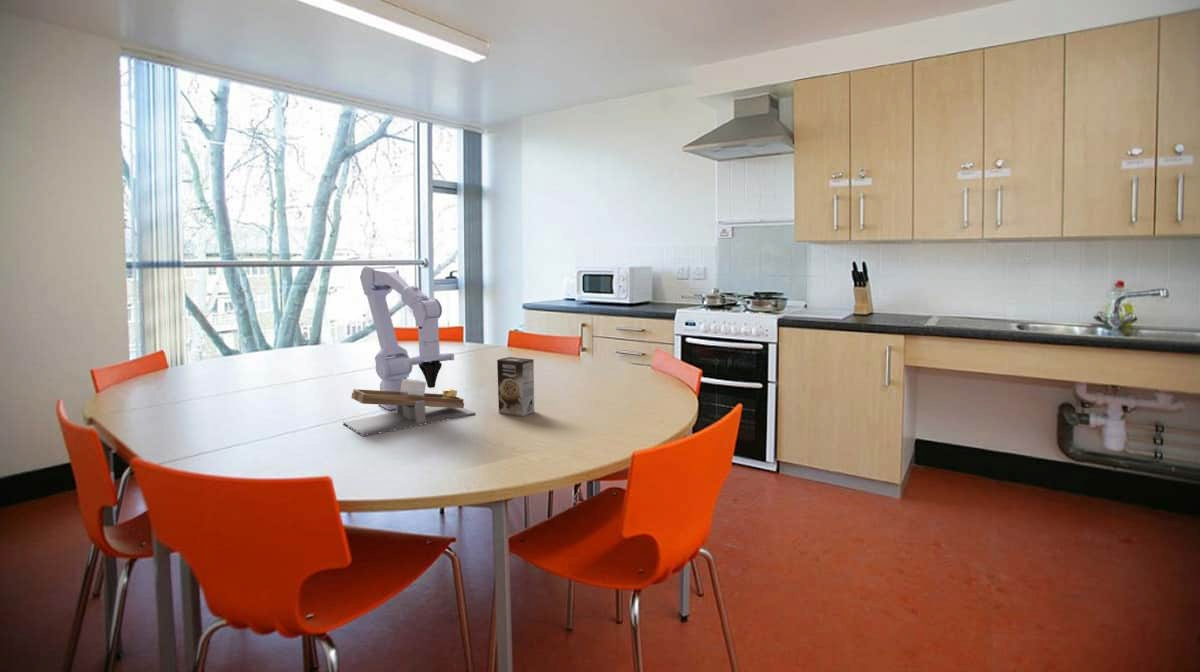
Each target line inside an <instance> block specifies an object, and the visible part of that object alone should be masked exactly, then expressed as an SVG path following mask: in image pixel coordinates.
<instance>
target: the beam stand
mask: <svg viewBox="0 0 1200 672" xmlns="http://www.w3.org/2000/svg"><path fill="white" fill-rule="evenodd" d="M475 415H476V412H475V411H472V410H470V409H467V408H465V407H464V408H450V407H427V406H425V401H423V400H422V401H416V402H415V406H404V405H396V409H395V412H391V413H387V414H381V415H374V416H369V417H364V418H358V419H352V420H345V421H342V424H343V423H344V424H346V425H347V426H349V427H350V428H352V429H354V430H355V431H357V432H358V433H360V434H362V435H367V434H373V435H375V434H374V433H378V434H380V433H379V432H383V433H386V432H385V431H388V432H391V431H390V430H394V429H399V430H401V429H400V428H404V427H409V428H411V427H410V426H414V427H416V426H415V425H419V426H421V425H420V424H424V425H426V424H425V423H430V424H432V423H431V422H435V423H438V422H437V421H440V422H443V421H442V420H445V421H448V420H447V419H450V420H454V418H455V419H459V417H460V418H465V416H466V417H469V416H475ZM344 424H343V425H344ZM347 426H346V427H347ZM350 428H349V429H350ZM352 429H351V430H352ZM404 429H405V428H404ZM355 431H354V432H355ZM394 431H395V430H394ZM358 433H357V434H358ZM360 434H359V435H360Z"/></svg>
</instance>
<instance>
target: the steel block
mask: <svg viewBox="0 0 1200 672" xmlns="http://www.w3.org/2000/svg"><path fill="white" fill-rule="evenodd" d="M426 385H427V382H426V381H423V380H419V379H412V378H411V379H410V378H407V379H402V384H401V391H400V396H410V397H424V393H425V392H426Z"/></svg>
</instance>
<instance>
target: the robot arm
mask: <svg viewBox="0 0 1200 672" xmlns="http://www.w3.org/2000/svg"><path fill="white" fill-rule="evenodd" d="M359 278H360V282H361V286H362V291H363V294H364V295H365V296H366V298H367V301H368V305H369V308H370V312H371V316H372V320H373V324H374V327H375V332H376V335H377V339H378V342H379V346H380V350H379V351H378V352H377V354H376V355H375V357H374V360H375V373H376V375H377V376H378V377H379V379H380V380H381V381H380V383H379V391H395V392H400V391H401V384H402V379H408V378H409V377H410V375H411V373H412V371H413V368H414V366H416V365H418V367H419V368H420V370H421V372H422V374H423V376H424V379H425V382H426V385H427V388H429V389H433V388H436V384H437V383H436V381H437V379H438V375H439V373H440V370H441V368H442V365H443V364H442V362H446V361H455V353H453V352H449V353H440V351H441V349H440V335H439V318H440V317H441V316H442V314H443V308H442V307H443V306H442V304H441V302H440V300H438V299H437V298H429V297H428V296H427V295H426V294H425V293H423V292H422V291H421V290H420V289H419V287H418V286H417V285H409V284H408V283H407V282H406V281H405V280H404V278H402V276H400V271H399V269H398V268H397V267H396V266H395V265H393V264H388V265H365V266H363V268H362V269H361V272H360V277H359ZM393 290H394V291H395V292H397V293H398V294H400V300H401V301H402V302H403V304H405V305H406V306H407V307H408V308H409V309H411V310H412V315H413V317H414V319H415V325H416V327H417V332H418V336H417V337H418V353H419V355H418V356H413V357H410V356H409V354H408V350H406V348H404V347H402V346H400V345H399V343H398V339H397V335H396V332H395V328H394V325H393V319H392V317H391V313H390V310H389V306H388V302H387V299H386V297H387V295H389V294H390V293H392V291H393ZM377 405H378V406H380V407H382V408H384V409H386V410H388V411H391V410H396V405H381V404H377Z"/></svg>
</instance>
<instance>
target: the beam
mask: <svg viewBox="0 0 1200 672" xmlns="http://www.w3.org/2000/svg"><path fill="white" fill-rule="evenodd" d="M442 397H443V393H429V392H428V393H427V392H426V393H424V397H410V396H400V392H395V391H380V390H376V389H359V388H358V389H357V388H354V389H353V391H352V392H351V397H350V398H351V399H352V400H354V401H357V402H359V403H360V404H363V405H378V404H381V405H404V406H415V402H416V401H422V400H423V401H425V407H450V408H465V407H464V406H465V403H464V399H465V398H464V399H463V398H461V397H458V396H456V399H448V398H442Z"/></svg>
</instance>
